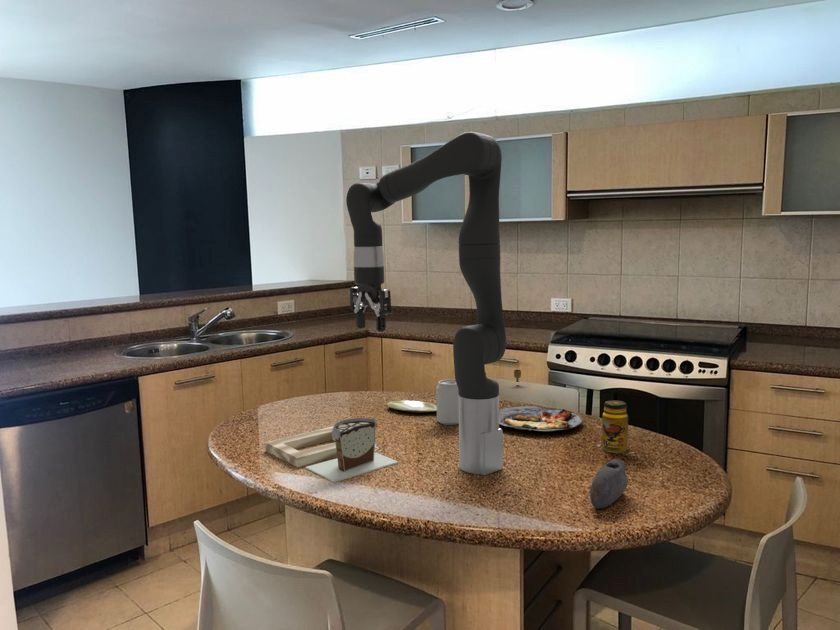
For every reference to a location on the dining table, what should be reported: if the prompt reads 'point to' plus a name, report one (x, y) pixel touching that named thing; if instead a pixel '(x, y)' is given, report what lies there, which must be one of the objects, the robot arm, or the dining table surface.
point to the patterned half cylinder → (354, 442)
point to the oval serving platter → (413, 406)
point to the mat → (335, 474)
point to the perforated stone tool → (608, 484)
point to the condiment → (615, 427)
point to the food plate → (547, 422)
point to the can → (447, 402)
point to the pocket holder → (288, 446)
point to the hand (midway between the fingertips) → (370, 329)
